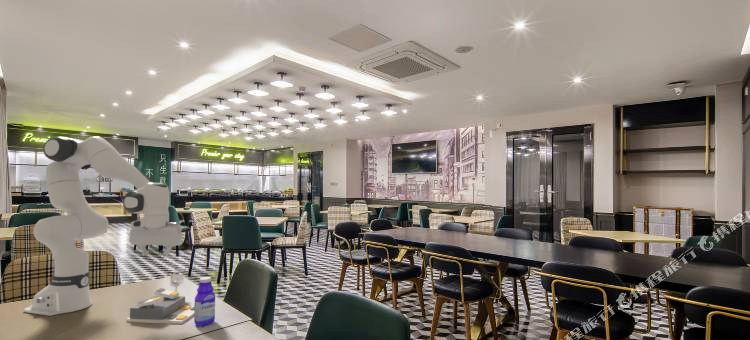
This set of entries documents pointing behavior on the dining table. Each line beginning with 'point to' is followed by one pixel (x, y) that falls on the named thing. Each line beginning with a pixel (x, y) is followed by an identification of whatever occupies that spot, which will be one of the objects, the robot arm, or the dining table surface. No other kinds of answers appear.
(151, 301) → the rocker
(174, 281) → the wineglass
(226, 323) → the dining table surface
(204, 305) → the bottle
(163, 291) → the rocker
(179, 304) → the switch unit
